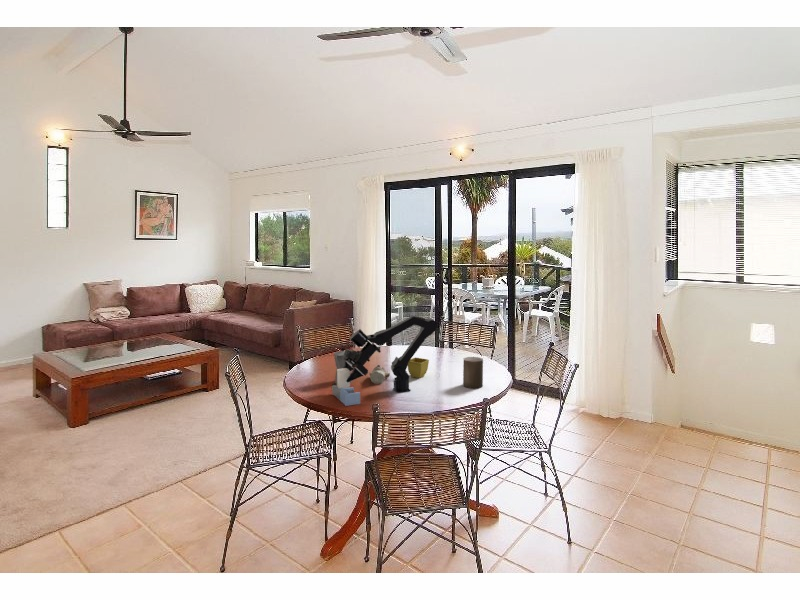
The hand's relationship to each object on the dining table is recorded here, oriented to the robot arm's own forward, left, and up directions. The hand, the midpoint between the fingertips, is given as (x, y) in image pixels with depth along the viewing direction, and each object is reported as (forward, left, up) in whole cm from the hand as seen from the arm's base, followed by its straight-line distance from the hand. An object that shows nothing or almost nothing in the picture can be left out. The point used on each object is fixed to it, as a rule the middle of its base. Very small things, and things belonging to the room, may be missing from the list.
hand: (343, 379), depth 227 cm
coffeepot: (-8, -21, -8) cm, 24 cm away
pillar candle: (-63, +14, -8) cm, 65 cm away
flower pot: (-46, -12, -8) cm, 48 cm away
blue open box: (0, 0, -8) cm, 8 cm away
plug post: (0, 0, -8) cm, 8 cm away
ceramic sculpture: (-24, -15, -8) cm, 29 cm away
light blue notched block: (0, +9, -8) cm, 12 cm away
